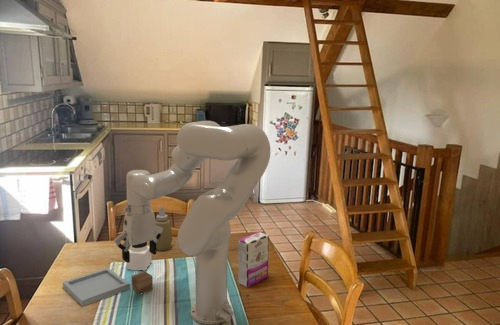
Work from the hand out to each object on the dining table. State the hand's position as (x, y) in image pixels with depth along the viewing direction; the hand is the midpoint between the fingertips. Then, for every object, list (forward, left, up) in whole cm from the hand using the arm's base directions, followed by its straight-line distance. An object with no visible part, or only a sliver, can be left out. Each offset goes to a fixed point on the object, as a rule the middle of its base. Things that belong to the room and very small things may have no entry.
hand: (139, 257), depth 132 cm
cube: (-1, 0, -12) cm, 12 cm away
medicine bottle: (+15, -8, -12) cm, 21 cm away
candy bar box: (-22, -32, -12) cm, 41 cm away
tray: (+10, +11, -12) cm, 19 cm away
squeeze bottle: (+24, -24, -12) cm, 36 cm away
